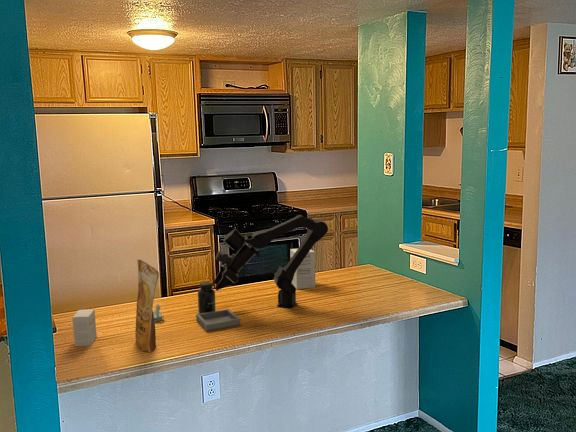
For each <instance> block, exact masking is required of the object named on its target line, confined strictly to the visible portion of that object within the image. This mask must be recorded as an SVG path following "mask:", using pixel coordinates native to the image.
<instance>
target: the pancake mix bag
mask: <svg viewBox="0 0 576 432" xmlns="http://www.w3.org/2000/svg"><path fill="white" fill-rule="evenodd" d="M136 261H137V272H138V273H137V275H138V276H137V297H136V310H135V311H136V312H135V313H136V314H135V330H134V331H135V332H134V333H135V335H134V336H135V340H136V342H137V344H138V346H139V347H140V349H141V351H143V352H149V353H152V352H154V351H155V350H156V347H157V346H156V345H157V344H156V343H157V342H156V341H157V340H156V339H157V336H156V333H157V331H156V322H155V321H154V314H153V312H154V309H153V306H154V300H155V299H154V298H155V292H156V288H157V283H158V280H159V275H160V273H159V271H158V270H157V269H156V268H155V267H153V266H151V265H150V264H149V263H147V262H146V261H144V260H142V259H137V260H136Z"/></svg>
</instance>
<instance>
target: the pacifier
mask: <svg viewBox="0 0 576 432" xmlns="http://www.w3.org/2000/svg"><path fill="white" fill-rule="evenodd" d="M160 310H161V304H160V303H157V304H156V305H155V310H153V314H154V321H155V323H157V322H159V321H161V319H164V317H165V316H163V314H162V312H161V311H160Z"/></svg>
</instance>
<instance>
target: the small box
mask: <svg viewBox="0 0 576 432" xmlns="http://www.w3.org/2000/svg"><path fill="white" fill-rule="evenodd" d="M72 329H73V330H72V331H73V341H74V346H75V347H88V346H89V347H90V346H92V344H93V343H94V341H95V340H96V339H97V337H98V335H97V323H96V310H95V309H94V308H93V309H78V310H77V311H76V312H75V314H74V315H73V316H72Z"/></svg>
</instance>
